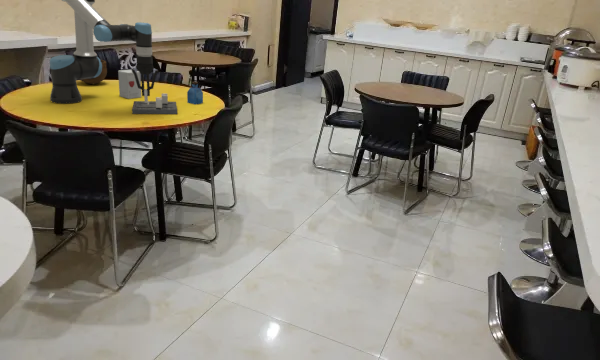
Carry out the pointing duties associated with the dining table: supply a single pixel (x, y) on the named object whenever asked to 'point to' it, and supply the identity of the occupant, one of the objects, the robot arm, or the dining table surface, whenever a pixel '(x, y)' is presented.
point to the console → (153, 108)
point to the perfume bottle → (195, 94)
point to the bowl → (100, 77)
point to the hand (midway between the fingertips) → (146, 102)
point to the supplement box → (129, 84)
